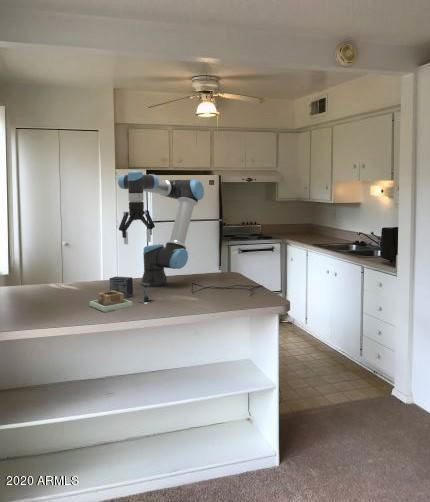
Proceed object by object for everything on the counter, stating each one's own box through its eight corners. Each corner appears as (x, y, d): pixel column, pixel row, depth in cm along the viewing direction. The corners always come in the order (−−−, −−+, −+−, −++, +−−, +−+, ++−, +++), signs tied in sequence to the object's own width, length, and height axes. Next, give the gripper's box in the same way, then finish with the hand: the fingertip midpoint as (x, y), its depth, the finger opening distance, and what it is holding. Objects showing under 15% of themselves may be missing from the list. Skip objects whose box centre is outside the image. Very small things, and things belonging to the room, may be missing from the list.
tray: (89, 306, 250) (89, 301, 249) (117, 301, 259) (116, 296, 259) (104, 312, 238) (104, 307, 238) (132, 306, 248) (132, 301, 248)
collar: (98, 305, 249) (97, 293, 248) (114, 302, 255) (114, 290, 254) (107, 308, 242) (106, 296, 242) (123, 305, 248) (123, 293, 247)
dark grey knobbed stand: (135, 302, 256) (134, 283, 255) (148, 300, 261) (148, 281, 260) (144, 305, 250) (143, 285, 249) (157, 302, 255) (157, 283, 254)
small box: (133, 296, 270) (133, 277, 268) (127, 299, 264) (127, 279, 262) (116, 295, 273) (115, 275, 272) (109, 298, 267) (108, 278, 265)
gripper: (118, 202, 250) (120, 246, 253) (160, 200, 266) (161, 241, 269) (110, 202, 256) (112, 244, 259) (152, 200, 272) (153, 240, 275)
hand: (137, 243), depth 264 cm, fingers open, 13 cm apart
